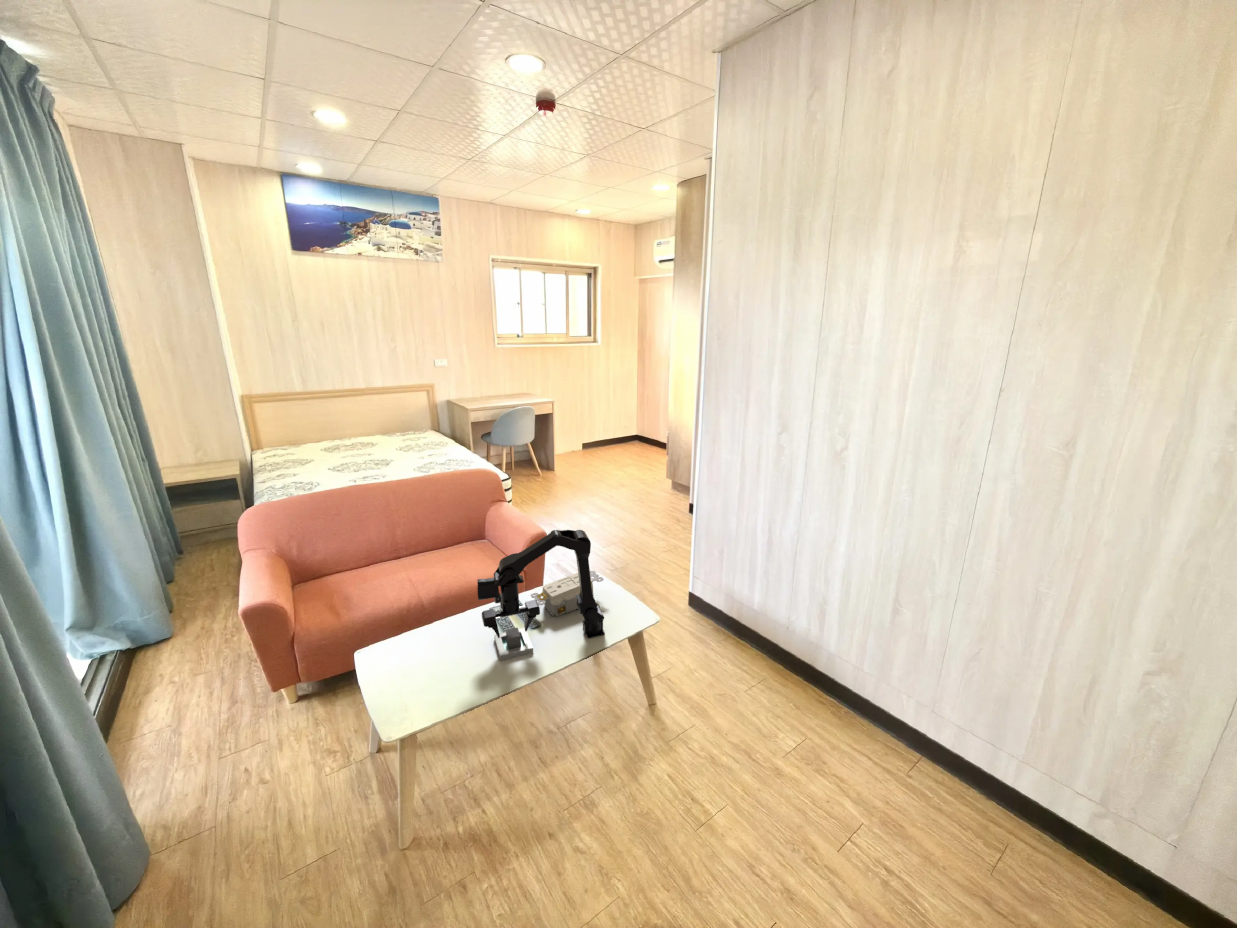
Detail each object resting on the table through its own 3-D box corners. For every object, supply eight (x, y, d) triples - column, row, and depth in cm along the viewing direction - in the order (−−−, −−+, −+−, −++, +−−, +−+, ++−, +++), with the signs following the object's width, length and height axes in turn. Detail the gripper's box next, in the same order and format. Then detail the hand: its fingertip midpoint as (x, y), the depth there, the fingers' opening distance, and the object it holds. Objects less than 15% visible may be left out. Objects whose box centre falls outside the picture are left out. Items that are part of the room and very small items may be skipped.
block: (518, 639, 170) (517, 627, 168) (521, 648, 165) (520, 635, 164) (506, 642, 168) (505, 630, 167) (509, 651, 164) (508, 638, 162)
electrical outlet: (607, 599, 194) (606, 577, 191) (543, 626, 180) (540, 603, 176) (592, 585, 203) (591, 565, 200) (530, 610, 189) (527, 589, 186)
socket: (525, 632, 174) (525, 627, 173) (533, 652, 164) (532, 647, 163) (494, 639, 170) (494, 634, 169) (500, 661, 159) (500, 656, 159)
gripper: (531, 577, 171) (533, 615, 176) (477, 587, 164) (481, 627, 169) (539, 593, 161) (541, 632, 166) (482, 605, 154) (485, 646, 159)
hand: (512, 634), depth 165 cm, fingers open, 9 cm apart
